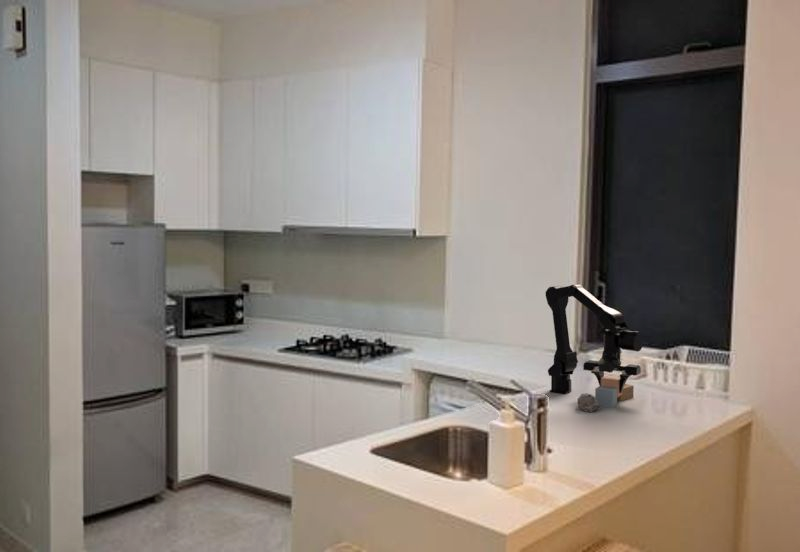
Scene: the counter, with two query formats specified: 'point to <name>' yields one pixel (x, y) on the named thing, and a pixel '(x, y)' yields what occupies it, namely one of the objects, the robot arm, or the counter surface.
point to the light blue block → (606, 396)
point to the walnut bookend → (626, 392)
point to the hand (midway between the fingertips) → (611, 391)
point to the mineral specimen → (588, 403)
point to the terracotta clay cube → (611, 383)
